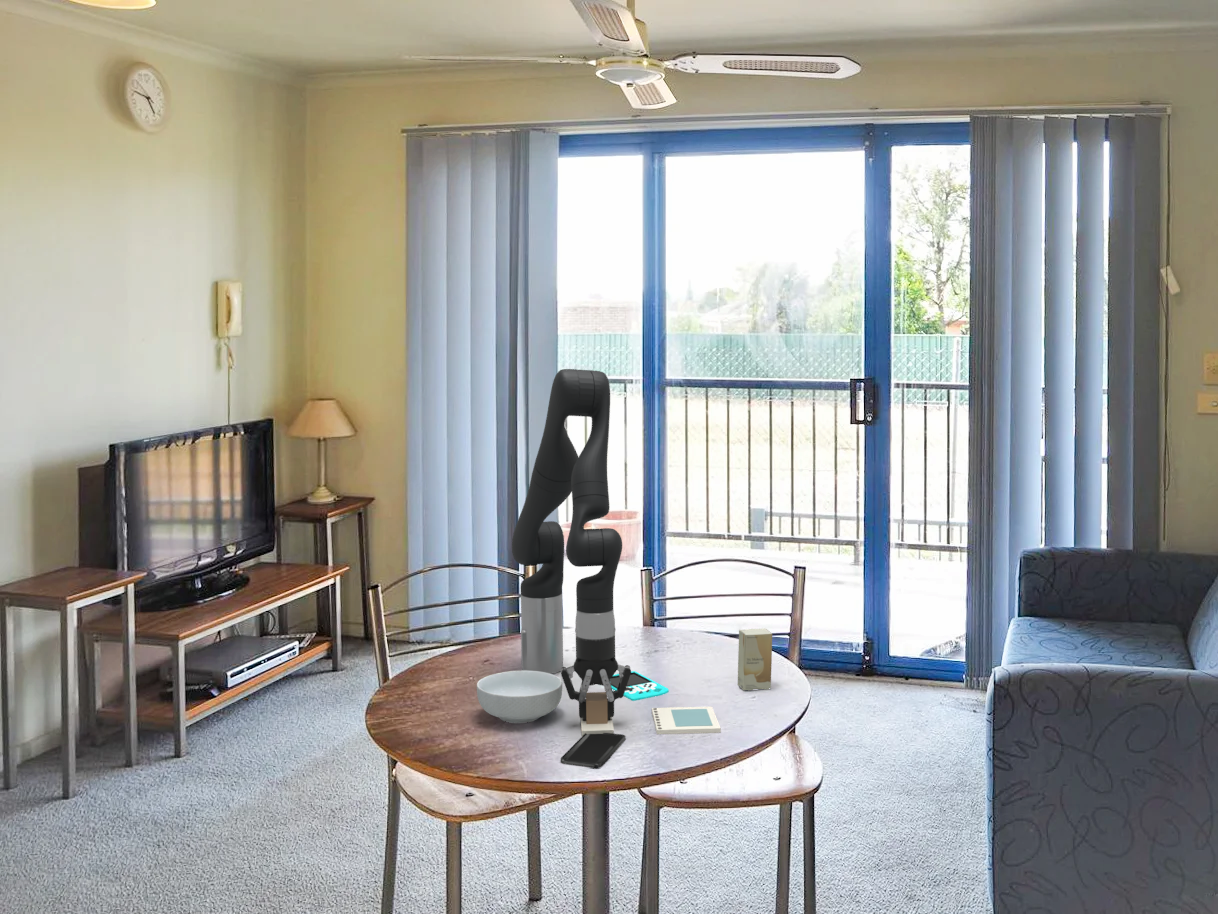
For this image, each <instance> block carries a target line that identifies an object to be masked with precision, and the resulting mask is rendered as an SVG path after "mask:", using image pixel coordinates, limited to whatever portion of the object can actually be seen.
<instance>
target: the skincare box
mask: <svg viewBox="0 0 1218 914" xmlns="http://www.w3.org/2000/svg"><path fill="white" fill-rule="evenodd" d="M737 656H738V658H737V660H738V661H737V686H740V687H741V688H740V687H739V688H740V689H741V690H743V691H744V690H748V691H754V690H753V689H764V690H770V689H769V688H772V665H773V664H772V662H773V661H772V656H773V633H772V631H770V630H769V629H768V628H766V627H765V628H748V629H747V628H746V629H739V630H738V655H737Z"/></svg>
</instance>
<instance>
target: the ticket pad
mask: <svg viewBox="0 0 1218 914" xmlns="http://www.w3.org/2000/svg"><path fill="white" fill-rule="evenodd" d="M651 714H652V715H651V716H652V718H653V719H652V720H653V723H654V728H655V732H656V735H682V734H683V735H684V734H688V735H689V734H719V733H720V734H721V732H722V730H721V728H722V727H721V726H720V723H719V721H718V718H717V716H716V713H715V710H714V707H713V706H689V707H688V706H683V707H677V706H676V707H651Z"/></svg>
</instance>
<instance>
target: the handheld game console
mask: <svg viewBox="0 0 1218 914" xmlns="http://www.w3.org/2000/svg"><path fill="white" fill-rule="evenodd" d="M620 679H621V677H620V676H619V673H614V675H613V676H612V677H611V679H610V684H611V687H612V689H613V690H612V691H614V690H617V688H618V685H619V682H620ZM669 691H670V690H669V688H668V687H666V686H664V685H662V684H661V683H658V682H657V681H654V680H653V679H651V678H649V677H648V676H645V675H643V674H642V673H639V672H638V671H636V670H631V674H630V677H629V680H628V683H627V686H626V689H625V693H624V696H623V697H625V698H627V699H628V700H630V701H632V702H634V701H640V700H645V699H650V698H654V697H655V696H656V697H660V696H663V694H664V695H667V694H668V693H669Z"/></svg>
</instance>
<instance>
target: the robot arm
mask: <svg viewBox="0 0 1218 914" xmlns="http://www.w3.org/2000/svg"><path fill="white" fill-rule="evenodd" d="M551 385H552V386H551V389H550V390H551V391H550V396H549V400H548V408H547V413H546V418H545V423H544V429H543V433H542V436H541V441H540V445H539V448H538V451H537V454H536V458H535V461H534V464H533V469H532V472H531V476H530V477H531V478H530V482H529V487H528V489H527V494H526V497H525V501H524V504H523V506H522V510H521V513H520V515H519V516H518V520H517V522H516V525H515V528H514V531H513V534H512V538H511V552H512V557H513V559H514V560H515V562H516V563H518V564H519V565H523V566H534V565H535V566H536V565H542V566H541V567H540V568H539V570H537V571H536V572H535V573H533V574H532V575H530V576H528V577H526V578H525V579H523V580H522V581H521V583H520V620H521V621H520V623H521V624H520V626H521V629H520V648H521V649H520V652H521V654H520V655H521V659H520V660H521V671H539V672H545V673H549V674H553V675H554V674H556V673H558V672H560V675H561V678H562V679H561V680H562V682H563V684H564V687H565V689H566V692H567V694H568V698H569V700H571V701H573V700H574V701H577V702H578V716H579V718H580V719H581V718H583V721H586V694H587V693H588V691H589V686H594V685H595V686H596V685H598V686H603V688H604V692H606V695H607V714H608V720H611V717H612V718H614V716H615V701H616V700H617V699H622V698H624V697H625V696H624V693H625V689H626V686H627V683H628V680H629V677H630V674H631V671H632V669H631V666H630V665H621V664H619V663H618V661H617V659H616V619H615V614H614V584H615V579H616V575H617V574H616V573H617V569H618V566H619V563H620V559H621V556H622V551H623V539H622V536H621V534H620V533H619V532H618V531H617V530H616V529H615V528H607V527H606V528H605V527H604V528H585V525H586V524H587V523H589V522H590V521H594V520H598V519H602V518H604V517H606V516H607V515H608V514H609V512H610V495H609V494H610V493H609V484H608V483H609V482H608V452H609V451H608V450H609V449H608V448H609V437H610V436H609V435H610V434H609V432H610V418H611V417H610V416H611V415H610V413H611V387H610V382H609V378H608V376H607V374H606V373H605V372H603V371H600V370H593V369H592V370H591V369H575V368H563V369H560V370H559V371H558V372H557V373H556V374H555V376H554V378H553V381H552V384H551ZM569 416H570V417H589V418H591V430H590V434H589V437H588V439H587V442H586V444H585V445H584V447H583V449H582V450H581V452H580V454H579V455H578V452H577V451H576V450H577V449H576V447H575V446H574V444H573V443H572V441H571V439H570V437H569V435H568V432H567V428H566V426H565V425H566V424H565V423H566V419H567V418H568V417H569ZM570 495H571V500H572V517H571V523H570V524H571V525H570V528H569V533H568V538H567V541H566V546H565V535H564V532H563V528H562V526H561V525H560V524H559V523H558V522H557V521H553V520H552V521H551V520H550V521H549V520H548V521H545V520H546V519H547V518H548V517H549V516H550V515H551V514H552V513H553V512H554V511H555V510H556V509H557V508H559V507H560V506H561V505H562V504H563V503H564V502H565V501H566V499H568V497H570ZM565 554H566V557H567V560H568V561H569V563H570V564H571V565H573V566H574V567H581V568H582V567H601V569H600V570H599V572H597V573H595V574H592V575H591V576H590V575H589V576H586V577H583V578H581V579H579V580H578V581H577V583H576V591H575V592H576V594H575V595H576V612H575V613H576V614H575V629H574V630H575V631H574V632H575V660H574V662H573V665H570V666H567V667H566V666H564V632H563V631H564V629H563V626H564V625H563V624H564V623H563V584H564V564H565ZM617 671H618V674H619V676H620V677H621V679H620V682H619V685H618V688H617V690H615V691H614V690H612V687H611V684H610V679H611V677H612V676H613V675H615V674H616V672H617ZM574 673H576V674H577V676H578V677H579V678H580V680H581V683H580V688H579V691H576V690H575V687H574V685H573V681H572V679H573V677H574Z"/></svg>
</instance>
